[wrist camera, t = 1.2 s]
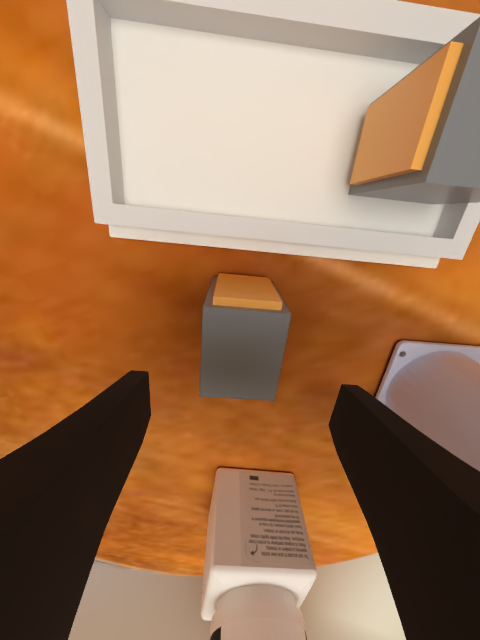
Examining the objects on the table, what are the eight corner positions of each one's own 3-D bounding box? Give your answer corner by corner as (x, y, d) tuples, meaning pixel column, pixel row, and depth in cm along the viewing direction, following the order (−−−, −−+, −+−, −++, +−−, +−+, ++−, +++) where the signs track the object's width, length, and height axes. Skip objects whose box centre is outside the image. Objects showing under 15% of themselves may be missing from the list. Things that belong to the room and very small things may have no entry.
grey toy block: (432, 204, 14) (562, 198, 8) (341, 194, 14) (413, 180, 8) (464, 117, 12) (649, 41, 7) (362, 103, 12) (469, 11, 7)
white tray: (424, 265, 16) (455, 273, 14) (117, 235, 15) (96, 239, 13) (512, 41, 12) (577, 0, 10) (92, -27, 11) (55, -91, 9)
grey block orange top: (209, 341, 18) (199, 396, 13) (213, 269, 16) (203, 298, 11) (262, 345, 19) (274, 400, 13) (273, 275, 16) (292, 306, 11)
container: (277, 517, 27) (312, 753, 15) (208, 513, 27) (188, 755, 15) (294, 471, 24) (353, 719, 12) (216, 465, 24) (200, 720, 12)
